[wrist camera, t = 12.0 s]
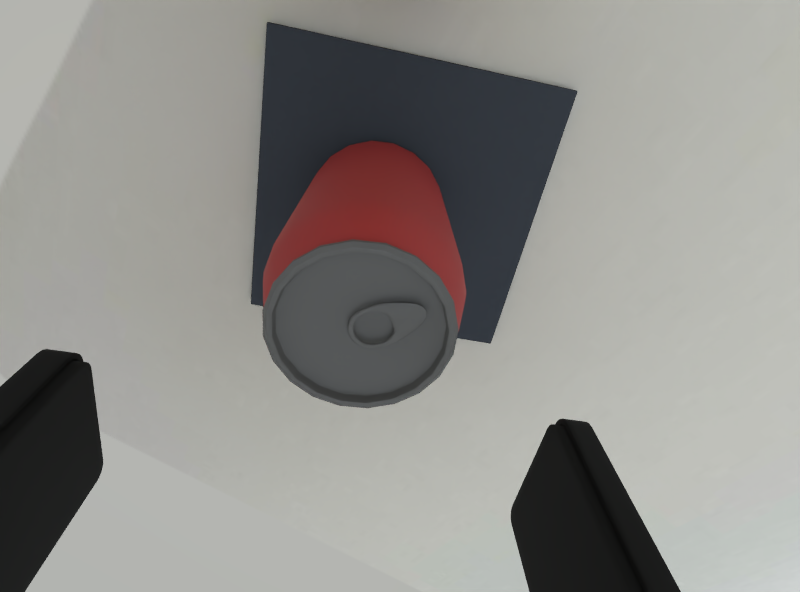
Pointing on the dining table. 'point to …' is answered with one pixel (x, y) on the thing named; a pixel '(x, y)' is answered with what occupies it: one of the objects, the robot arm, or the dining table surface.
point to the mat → (411, 146)
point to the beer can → (365, 281)
